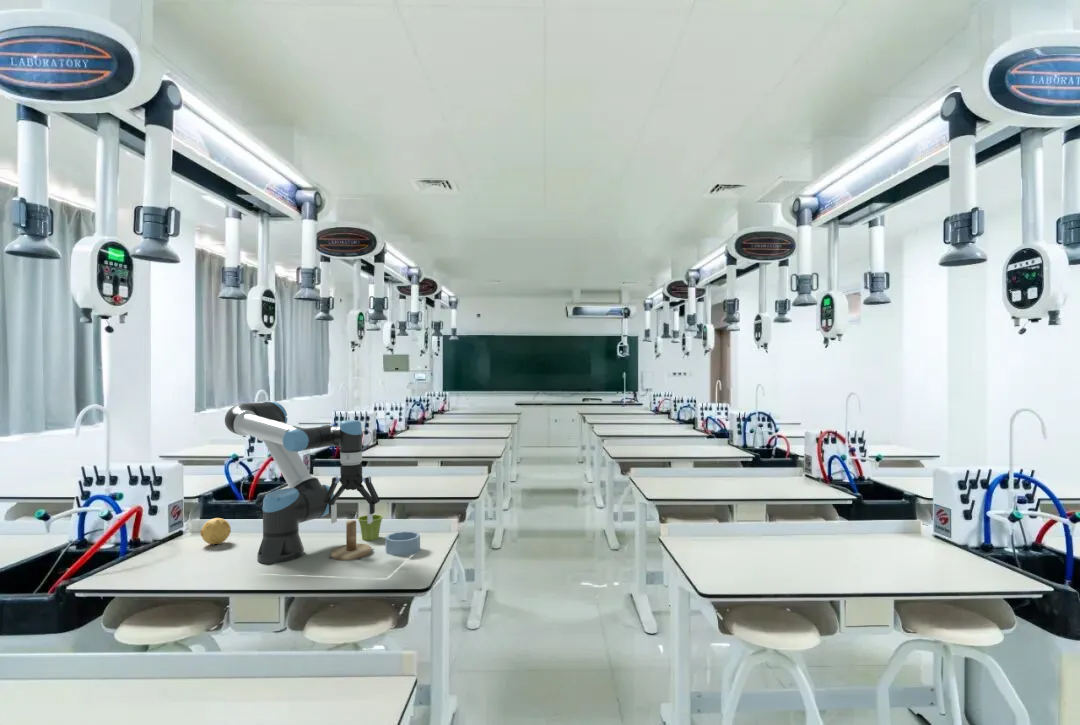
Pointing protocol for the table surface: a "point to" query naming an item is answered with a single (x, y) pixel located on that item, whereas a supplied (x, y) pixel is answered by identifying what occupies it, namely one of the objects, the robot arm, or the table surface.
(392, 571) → the table surface
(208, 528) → the potato
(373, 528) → the plant pot
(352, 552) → the lid
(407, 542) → the bowl
